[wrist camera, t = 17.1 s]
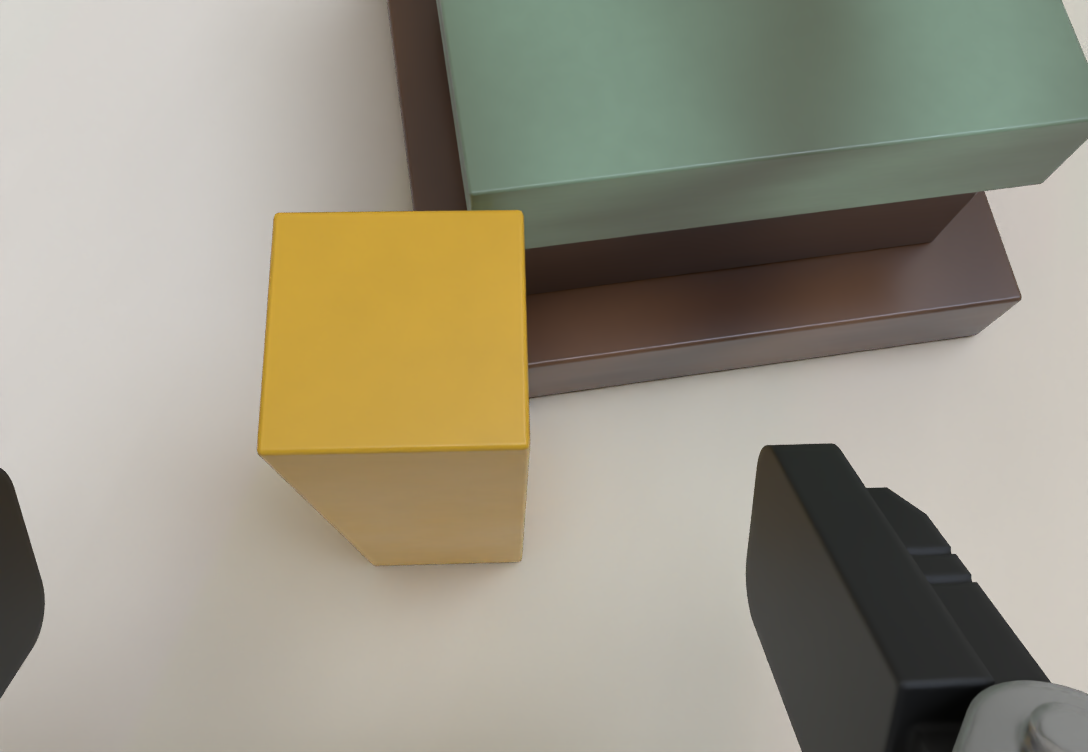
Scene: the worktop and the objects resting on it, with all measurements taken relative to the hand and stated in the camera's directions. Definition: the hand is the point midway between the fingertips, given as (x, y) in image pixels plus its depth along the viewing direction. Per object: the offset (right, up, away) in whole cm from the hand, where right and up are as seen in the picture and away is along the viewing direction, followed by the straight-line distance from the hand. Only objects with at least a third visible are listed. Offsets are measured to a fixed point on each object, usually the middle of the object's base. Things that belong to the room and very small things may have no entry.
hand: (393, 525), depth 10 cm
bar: (0, -1, +9) cm, 9 cm away
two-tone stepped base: (+4, +7, +12) cm, 15 cm away
